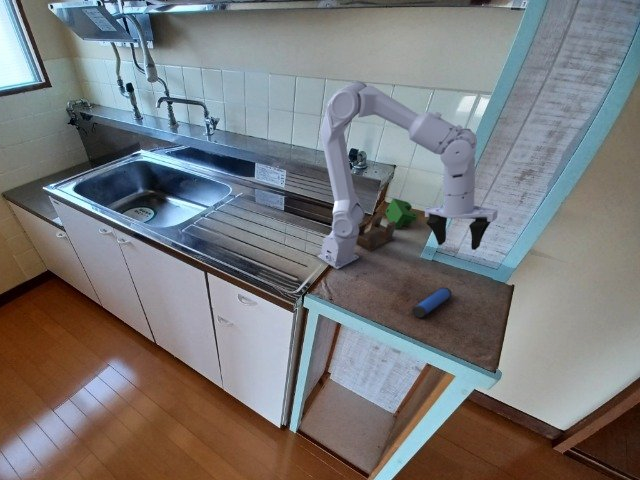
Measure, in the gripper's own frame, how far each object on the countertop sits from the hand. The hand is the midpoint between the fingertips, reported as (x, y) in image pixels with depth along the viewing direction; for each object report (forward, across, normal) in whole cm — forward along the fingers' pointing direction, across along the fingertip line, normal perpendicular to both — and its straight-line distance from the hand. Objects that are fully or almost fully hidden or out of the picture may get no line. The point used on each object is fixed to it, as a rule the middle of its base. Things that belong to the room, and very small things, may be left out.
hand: (458, 245), depth 78 cm
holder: (+4, +28, -4) cm, 28 cm away
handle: (+12, +1, +10) cm, 16 cm away
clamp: (+6, +30, -20) cm, 37 cm away
